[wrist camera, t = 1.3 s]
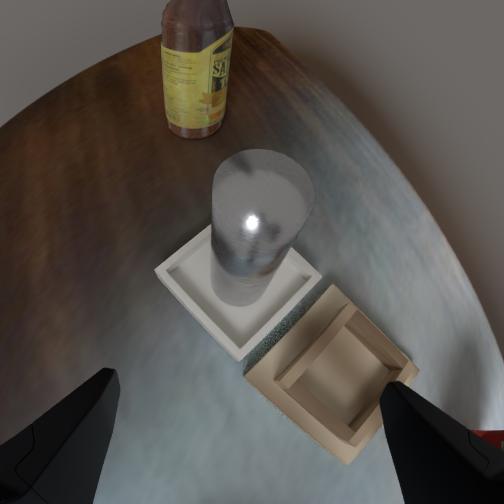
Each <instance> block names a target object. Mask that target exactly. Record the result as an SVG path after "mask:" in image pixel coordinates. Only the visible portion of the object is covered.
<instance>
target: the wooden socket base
mask: <svg viewBox="0 0 504 504" xmlns="http://www.w3.org/2000/svg"><path fill="white" fill-rule="evenodd" d="M418 372H419V369H418V368H417V367H416V366H415V365H414V364H413V363H412V361H411V360H410V359H409V358H408V357H407V356H406V355H405V354H404V353H403V352H402V351H401V350H400V349H399V348H398V347H397V346H396V345H395V344H394V343H393V342H392V341H391V340H390V339H389V338H388V337H387V336H386V335H385V334H384V333H383V332H382V331H381V330H380V329H379V328H378V327H377V326H376V325H375V324H374V323H373V322H372V321H371V320H370V319H369V318H368V317H367V316H366V315H365V314H364V313H363V312H362V311H361V310H360V309H359V308H358V307H357V306H356V305H355V304H354V303H353V302H351V301H350V300H349V299H348V298H347V297H346V296H345V295H344V294H343V293H342V292H341V291H340V290H339V289H338V288H337V287H336V286H335V285H334V284H332V285H331V286H329V287H328V288H327V289H326V290H325V292H324V293H323V294H322V295H321V296H320V297H319V298H318V299H317V300H316V302H315V303H314V304H313V305H312V306H311V307H310V308H309V309H308V310H307V311H306V312H305V313H304V315H303V316H302V317H301V318H300V319H299V320H298V321H297V322H296V323H295V324H294V325H293V326H292V327H291V328H290V329H289V331H288V332H287V333H286V334H285V335H284V336H283V337H282V338H281V339H280V340H279V341H278V342H277V343H276V344H275V345H274V346H273V347H272V348H271V349H270V350H269V351H268V352H267V353H266V354H265V355H264V356H263V357H262V358H261V359H260V360H259V361H258V362H257V363H256V364H255V365H254V366H253V367H252V368H251V369H250V370H249V371H248V372H247V373H246V374H245V375H244V376H243V377H244V378H245V379H246V380H247V381H248V382H249V383H250V384H251V385H252V386H253V387H254V388H255V389H256V390H257V391H258V392H259V393H260V394H262V395H263V396H264V397H265V398H266V399H267V400H268V401H269V402H270V403H271V404H272V405H274V406H275V407H276V408H277V409H278V410H279V411H280V412H281V413H282V414H284V415H285V416H286V417H287V418H288V419H289V420H290V421H292V422H293V423H294V424H295V425H296V426H297V427H299V428H300V429H301V430H302V431H303V432H304V433H306V434H307V435H308V436H309V437H310V438H312V439H313V440H314V441H315V442H316V443H318V444H319V445H320V446H321V447H323V448H324V449H325V450H326V451H328V452H329V453H330V454H331V455H333V456H334V457H335V458H336V459H338V460H339V461H340V462H342V463H343V464H345V465H347V466H348V465H349V464H350V463H351V462H352V461H353V460H354V459H355V457H356V456H357V455H358V454H359V453H360V452H361V450H362V449H363V448H364V447H365V446H366V444H367V443H368V442H369V441H370V440H371V438H372V437H373V436H374V435H375V433H376V432H377V431H378V429H379V428H380V427H381V426H382V424H383V420H382V415H381V410H380V405H379V398H380V396H381V394H382V392H383V390H384V388H385V386H386V384H387V383H388V382H389V381H401V382H402V383H403V384H405V385H406V386H408V387H409V386H410V384H411V383H412V381H413V380H414V378H415V377H416V375H417V373H418Z"/></svg>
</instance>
